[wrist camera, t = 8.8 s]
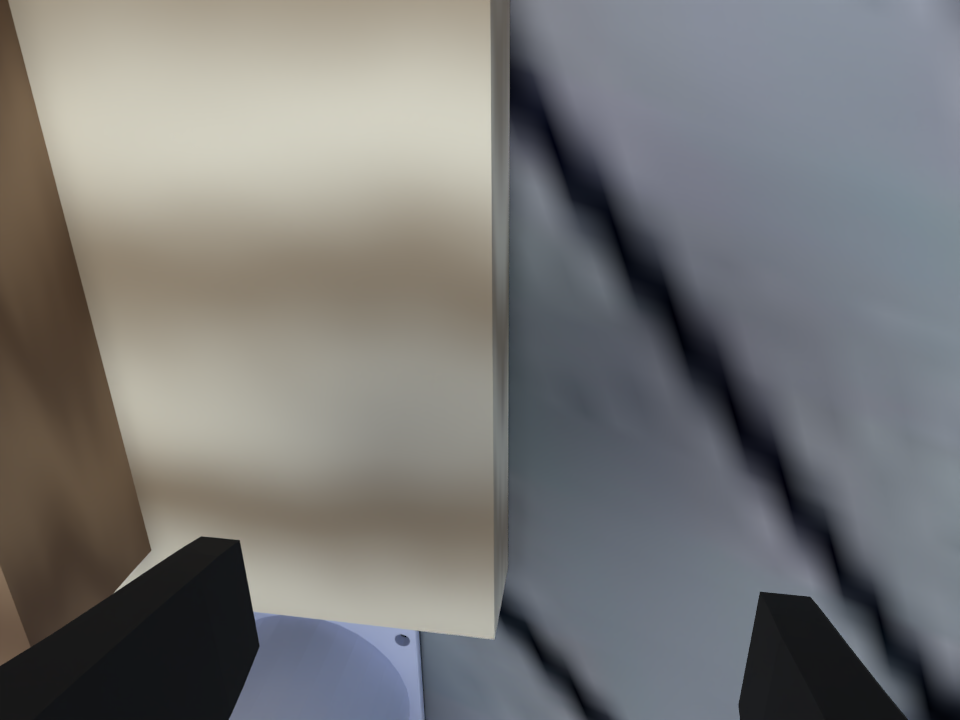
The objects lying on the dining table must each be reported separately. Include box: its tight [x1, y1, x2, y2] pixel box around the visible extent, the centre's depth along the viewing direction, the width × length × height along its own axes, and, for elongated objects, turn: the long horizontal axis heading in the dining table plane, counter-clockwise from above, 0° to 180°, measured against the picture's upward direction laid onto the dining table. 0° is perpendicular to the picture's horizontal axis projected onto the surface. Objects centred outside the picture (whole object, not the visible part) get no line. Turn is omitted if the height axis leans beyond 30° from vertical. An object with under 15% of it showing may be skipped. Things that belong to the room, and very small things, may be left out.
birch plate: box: [8, 0, 510, 640], centre depth 18 cm, size 20×13×3 cm, turn 1°
